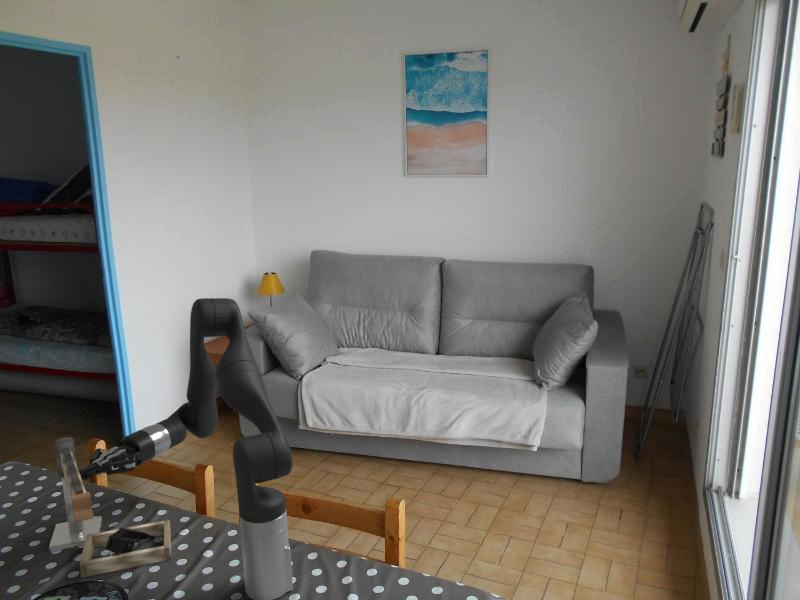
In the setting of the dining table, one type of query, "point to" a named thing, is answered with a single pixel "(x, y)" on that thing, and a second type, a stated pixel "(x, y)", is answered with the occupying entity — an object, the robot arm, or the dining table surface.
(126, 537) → the power plug
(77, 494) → the bar
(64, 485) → the arm post
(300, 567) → the dining table surface
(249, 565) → the robot arm
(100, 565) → the frame
